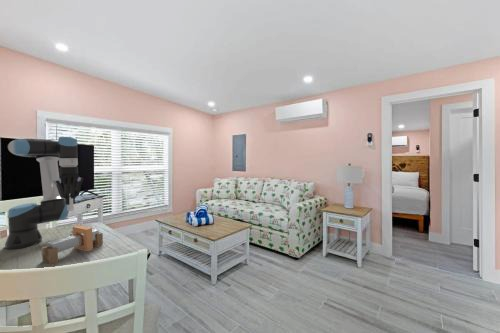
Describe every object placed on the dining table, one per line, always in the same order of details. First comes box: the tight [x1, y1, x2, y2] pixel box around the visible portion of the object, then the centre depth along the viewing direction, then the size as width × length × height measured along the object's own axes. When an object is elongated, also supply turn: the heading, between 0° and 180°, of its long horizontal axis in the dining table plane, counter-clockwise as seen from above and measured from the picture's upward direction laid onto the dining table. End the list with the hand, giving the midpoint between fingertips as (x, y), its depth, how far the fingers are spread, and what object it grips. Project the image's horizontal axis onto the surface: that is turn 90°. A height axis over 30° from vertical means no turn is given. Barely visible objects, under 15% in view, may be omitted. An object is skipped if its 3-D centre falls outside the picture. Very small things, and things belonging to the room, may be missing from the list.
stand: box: [41, 231, 104, 265], centre depth 116 cm, size 7×25×7 cm, turn 158°
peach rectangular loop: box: [72, 224, 94, 252], centre depth 120 cm, size 12×3×12 cm, turn 68°
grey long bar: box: [46, 228, 100, 254], centre depth 116 cm, size 5×22×5 cm, turn 158°
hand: (70, 210), depth 114 cm, fingers closed
